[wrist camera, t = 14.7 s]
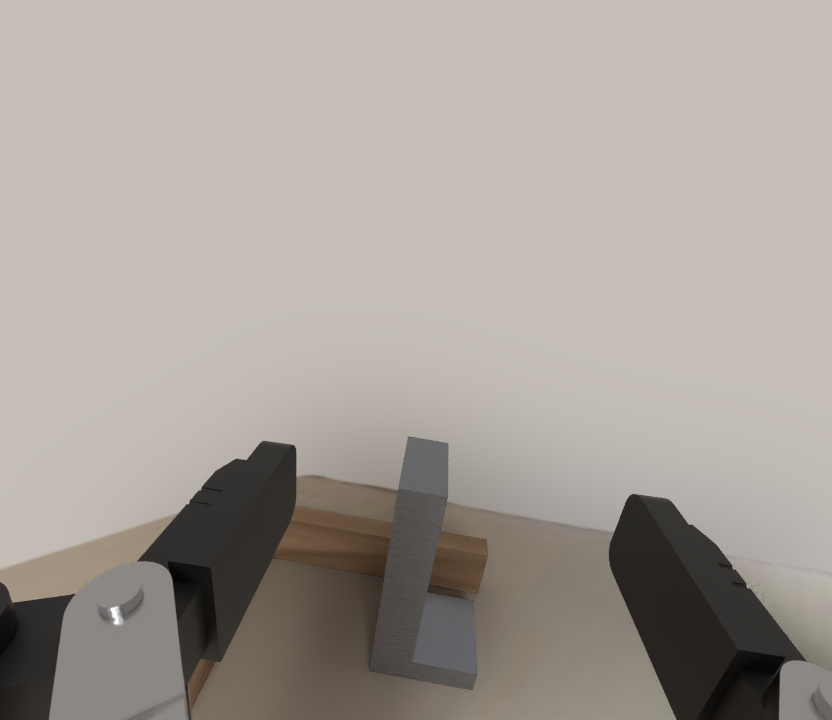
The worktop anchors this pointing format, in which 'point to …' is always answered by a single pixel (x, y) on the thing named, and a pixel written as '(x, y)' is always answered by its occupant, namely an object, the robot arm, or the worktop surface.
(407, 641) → the angle bracket
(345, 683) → the worktop surface
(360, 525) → the wooden l-shaped block
